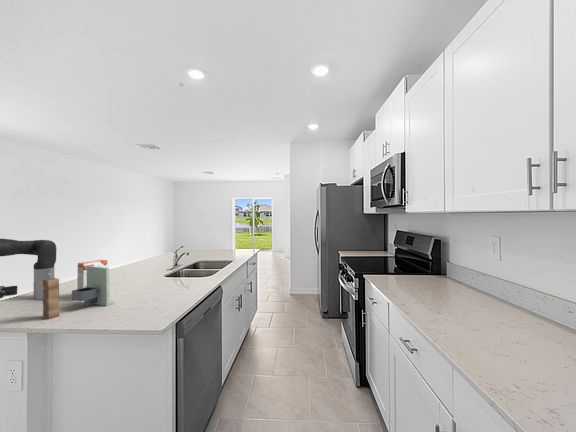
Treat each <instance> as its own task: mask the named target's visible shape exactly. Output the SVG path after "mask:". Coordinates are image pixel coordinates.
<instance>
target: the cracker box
mask: <svg viewBox="0 0 576 432" xmlns="http://www.w3.org/2000/svg"><path fill="white" fill-rule="evenodd" d="M87 266H96V267H104V268H108V259H107V260H106V259H97V260H91V261H90V260H89V261H83V262H82V261H81V262H78V263H77V277H76V278H77V285H76V286H77V289H81V288H85V287H87ZM77 289H76V290H77Z"/></svg>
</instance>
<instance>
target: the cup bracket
mask: <svg viewBox="0 0 576 432" xmlns="http://www.w3.org/2000/svg"><path fill="white" fill-rule="evenodd" d="M71 300H74V301H77V302H84V306H85V307H86V306H90V305H93V304H94V305H97V306H98V305H99V306H103V307H109V306H112V305H115V304H117V303H116V300H110V267H107V268H104V267H96V266H87V287H85V288H81V289H73V290H71Z"/></svg>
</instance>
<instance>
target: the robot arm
mask: <svg viewBox="0 0 576 432" xmlns="http://www.w3.org/2000/svg"><path fill="white" fill-rule="evenodd" d="M15 255H30V256H31V255H32V256H37V260H36V262H35V263H33V299H34V300H36V301H38V300H40V301H41V300H43V280H45V279H50V278H56V277H55V264H56V261H57V245H56V243H55V242H54V241H53V240H48V239H35V240H17V239H11V238H10V239H9V238H0V257H8V256H15ZM15 295H18V285H10V286H5V285H0V299H3V298H5V297H9V296H10V297H11V296H15Z"/></svg>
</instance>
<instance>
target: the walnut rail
mask: <svg viewBox="0 0 576 432" xmlns="http://www.w3.org/2000/svg"><path fill="white" fill-rule="evenodd" d="M42 317H43V319H46V320H51V319H55V318H58V317H60V279H59V278H58V277H57V278H56V277H55V278H50V279H45V280H43V299H42Z"/></svg>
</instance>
